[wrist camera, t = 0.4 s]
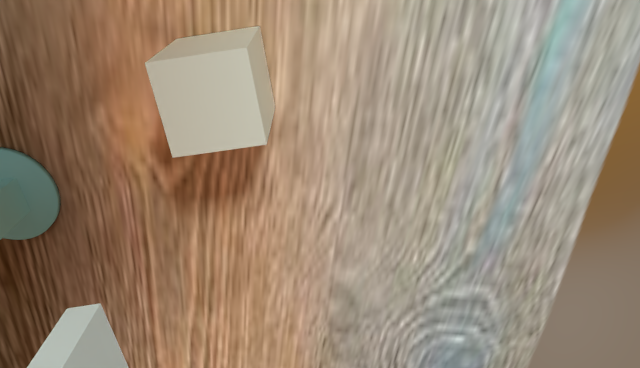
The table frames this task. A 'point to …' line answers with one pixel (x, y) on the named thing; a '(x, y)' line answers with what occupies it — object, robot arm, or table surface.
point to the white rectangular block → (213, 92)
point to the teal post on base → (25, 196)
